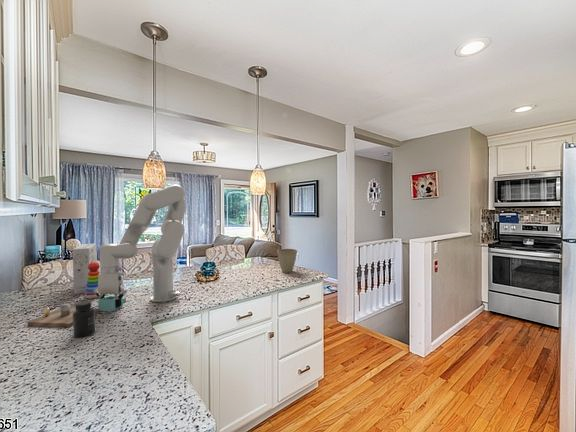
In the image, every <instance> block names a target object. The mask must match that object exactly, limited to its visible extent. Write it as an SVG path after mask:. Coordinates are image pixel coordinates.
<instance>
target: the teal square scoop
mask: <svg viewBox="0 0 576 432" xmlns="http://www.w3.org/2000/svg"><path fill="white" fill-rule="evenodd" d="M126 298H127V297H124V296H123V297H122V298H121V306H120V307H118V308H116V306H115V300H116V297H115V295H114V294H107V296H106V295H105V297H104V298H102V299H98V300H97V305H98V307H97V309H99V312H104V311H105V312H114V311H115V310H118V309H120V308H122V307H123V305H124V303H126V302H127V299H126ZM125 301H126V302H125Z"/></svg>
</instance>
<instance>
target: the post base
mask: <svg viewBox="0 0 576 432" xmlns="http://www.w3.org/2000/svg"><path fill="white" fill-rule="evenodd" d="M70 306H71V305H70V303H63V304H61V305H60V308H58V309H56V310H53V311H51V312H49V316H48V317H45V314H43V315H41V316H39V317H36V318H34V319H32V320H30V321H27V326H29V327H32V326H33V327H52V328H53V327H57V328H71V327H73V313H74V312H75V311H76V309H75V308H76V307H70ZM93 309H94V311H95V315H96V314H98V313H100V311H99V309H98V308H93Z"/></svg>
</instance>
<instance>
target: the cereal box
mask: <svg viewBox="0 0 576 432" xmlns="http://www.w3.org/2000/svg"><path fill="white" fill-rule="evenodd" d="M97 252H98V251H97V243H82V244H80V245H78V246H76V247H74V248H73V249H72V275H73V278H72V279H73V281H72V282H73V294H83V293H84V294H85V291H86V287H87V286H86V284H87V283H88V282H87V280H88V278H87V277H88V276H89V275H88V272H89V271H90V270H89V269H88V266H89V264H90V263H92V262H97V259H98V257H97ZM97 263H98V262H97Z"/></svg>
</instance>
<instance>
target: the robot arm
mask: <svg viewBox="0 0 576 432" xmlns="http://www.w3.org/2000/svg"><path fill="white" fill-rule="evenodd" d="M185 192H186V191H185V189H184V188H183V187H182V186H181V185H179V184H171V185H168V186H166V187H164V188H162V189H159V190H156V191H154V192H149V193H145V195H143V196H142V198H141V200H140V201H139V204H138V205H137V208H136V210H135V212H134V214H133V216H132V219H131V220H130V223H129V224H128V227H127V228H126V230H125V232H124V234H123V236H122V237H121V240H120V243H119V244H117V243H105V244H101V245H100V247H99V262H100V263H99V265H100V267H99V272H100V273H99V278H98V287H97V288H96V289H94V292H95V294H96V295H97V296H98V300H100V299H102V298H104V297H106V295H115V297H116V300H115V306H116V308H118V307H119V308H121V307H122V306H121V298H122V297H124V296H125V294H126V293H127V292H128V290H127V289H126V288H125V286H124V279H123V275H122V272H121V270H122V267H120V259H128V260H129V259H133V258H134V257H136V255H137V254H138V247H137V245H138V243H139V241H140V239H141V236H143V234H144V233H145V232H146V231H147V230H148V229H149V227H150V226H151V223H152V221H153V219H154V217H155V214H156V212H157V211H158V210H160V209H163V208H166V207H168V209H167V211H166V214H165V216H164V219H163V222H162V223H161V227H160V231H161V236H160V238H158V239H156V240H155V241H154V242H153V244H152V246H151V256H152V284H153V286H152V292H153V293H152V294H153V295H152V296H151V297H149V301H150V302H152V303H166V302H170V301H173V300H175V299H176V298H177V297H180V295H181V292H180V291H176V288H174V261H173V260H174V259H173V258H174V256H176V254H177V252H178V249H179V247H180V244H181V242H182V238H183V237H184V236H183V235H184V233H185V227H184V225H183V219H184V216H185V213H186V201H185V194H186V193H185ZM120 306H121V307H120ZM119 308H118V309H119Z"/></svg>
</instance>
